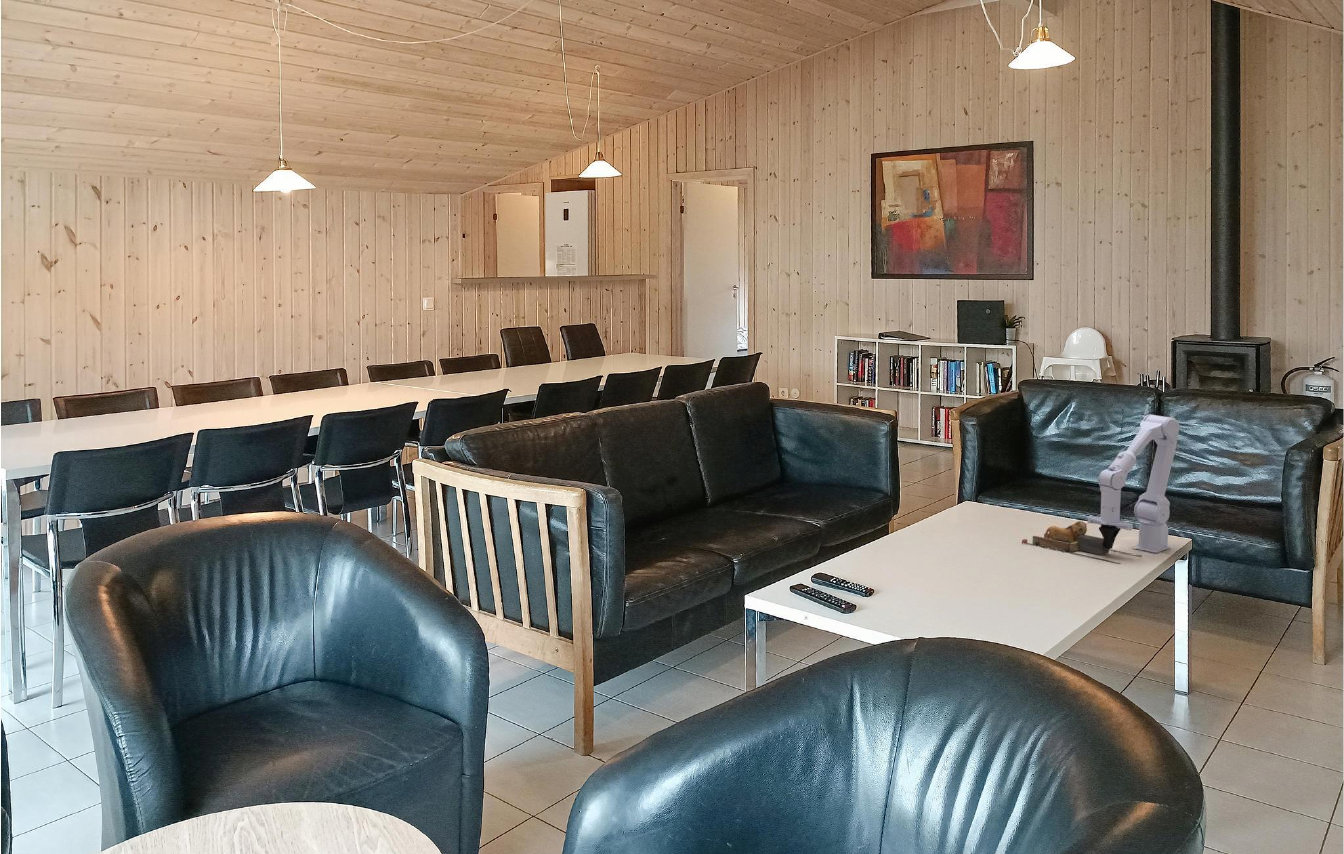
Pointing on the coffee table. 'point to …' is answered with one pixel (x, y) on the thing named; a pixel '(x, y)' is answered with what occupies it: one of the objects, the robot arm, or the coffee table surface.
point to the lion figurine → (1067, 531)
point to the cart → (1074, 544)
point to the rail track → (1076, 553)
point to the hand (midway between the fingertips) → (1109, 548)
